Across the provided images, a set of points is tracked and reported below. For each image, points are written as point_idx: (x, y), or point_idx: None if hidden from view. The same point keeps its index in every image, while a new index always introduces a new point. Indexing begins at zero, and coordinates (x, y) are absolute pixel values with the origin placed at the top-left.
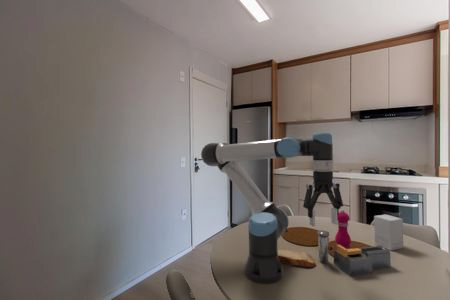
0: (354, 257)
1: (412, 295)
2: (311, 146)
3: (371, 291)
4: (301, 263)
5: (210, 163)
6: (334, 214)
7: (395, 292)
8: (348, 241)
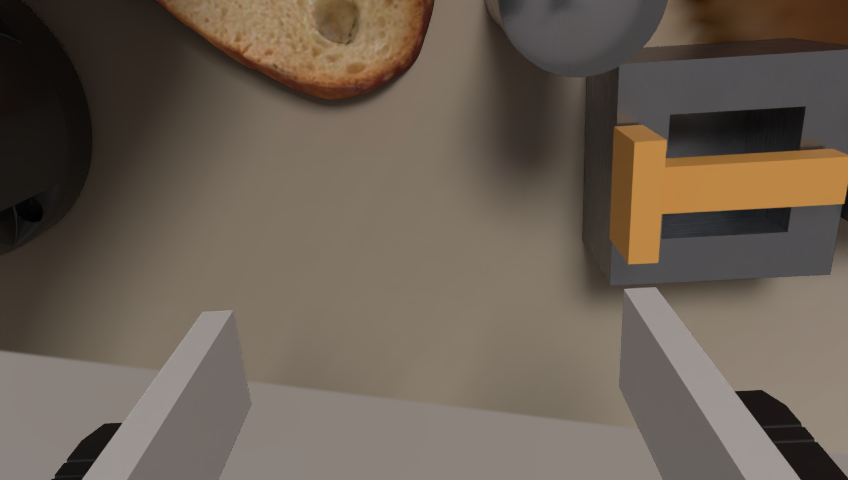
0: (698, 238)
1: None
2: None
3: (585, 391)
4: (270, 77)
5: None
6: (676, 475)
7: None
8: None
